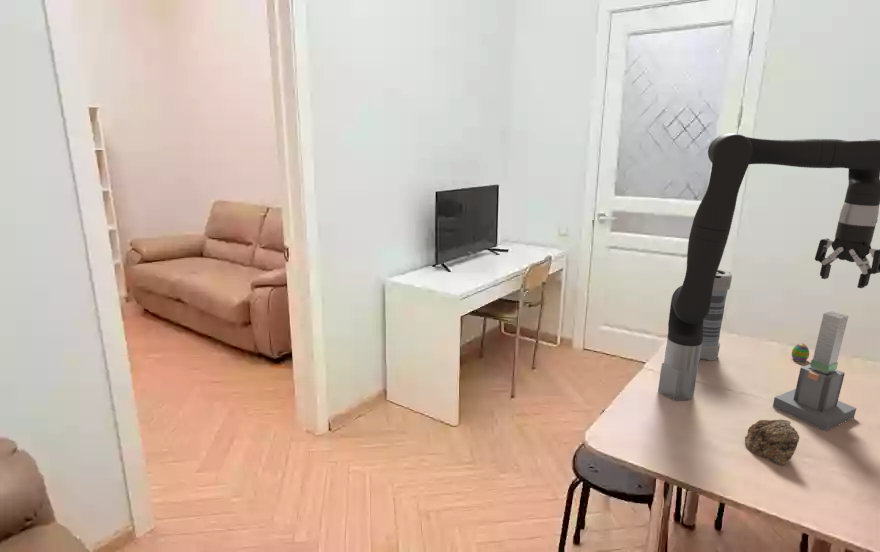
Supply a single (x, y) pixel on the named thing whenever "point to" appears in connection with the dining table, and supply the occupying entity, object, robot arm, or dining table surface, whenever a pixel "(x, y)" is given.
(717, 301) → the canister
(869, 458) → the dining table surface
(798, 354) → the egg
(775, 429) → the rock
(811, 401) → the stand
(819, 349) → the column
